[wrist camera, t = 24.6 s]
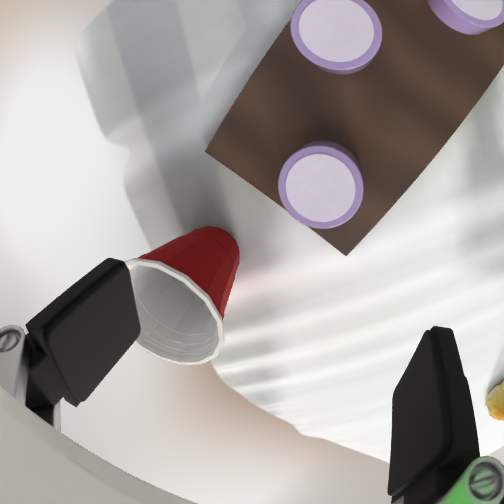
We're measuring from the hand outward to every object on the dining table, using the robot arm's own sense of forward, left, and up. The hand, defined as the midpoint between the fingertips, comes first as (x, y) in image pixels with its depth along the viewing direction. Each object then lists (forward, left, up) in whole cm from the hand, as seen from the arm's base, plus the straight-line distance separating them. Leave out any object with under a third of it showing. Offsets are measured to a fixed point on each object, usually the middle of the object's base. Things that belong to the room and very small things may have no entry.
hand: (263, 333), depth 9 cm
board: (-10, -2, -20) cm, 23 cm away
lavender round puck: (0, 0, -19) cm, 19 cm away
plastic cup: (+14, -4, -20) cm, 25 cm away
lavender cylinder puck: (-10, -6, -19) cm, 23 cm away
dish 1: (-21, 0, -19) cm, 28 cm away
